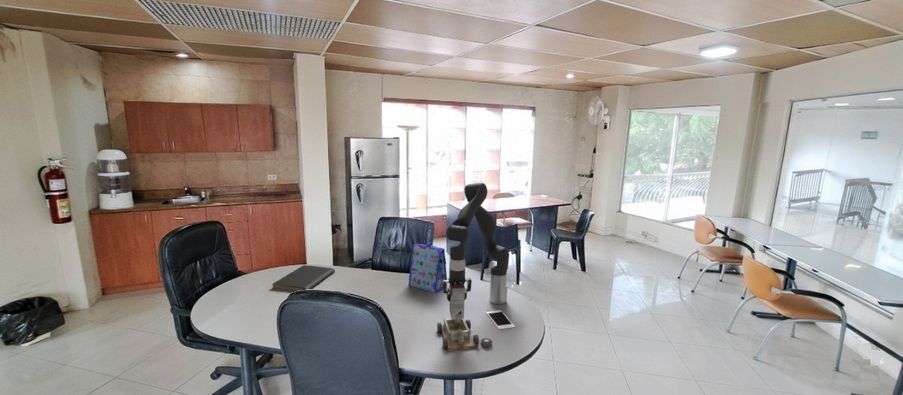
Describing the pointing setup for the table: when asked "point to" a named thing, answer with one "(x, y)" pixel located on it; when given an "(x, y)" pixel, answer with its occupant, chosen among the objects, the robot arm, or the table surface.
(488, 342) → the loose wheel
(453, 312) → the coffee box
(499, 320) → the cell phone
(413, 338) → the table surface
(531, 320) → the table surface
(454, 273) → the robot arm
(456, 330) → the chassis
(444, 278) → the lunch bag
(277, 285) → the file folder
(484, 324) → the table surface
